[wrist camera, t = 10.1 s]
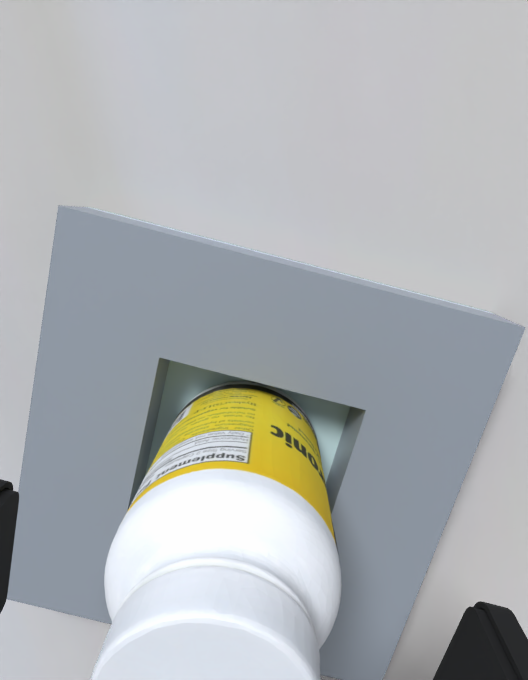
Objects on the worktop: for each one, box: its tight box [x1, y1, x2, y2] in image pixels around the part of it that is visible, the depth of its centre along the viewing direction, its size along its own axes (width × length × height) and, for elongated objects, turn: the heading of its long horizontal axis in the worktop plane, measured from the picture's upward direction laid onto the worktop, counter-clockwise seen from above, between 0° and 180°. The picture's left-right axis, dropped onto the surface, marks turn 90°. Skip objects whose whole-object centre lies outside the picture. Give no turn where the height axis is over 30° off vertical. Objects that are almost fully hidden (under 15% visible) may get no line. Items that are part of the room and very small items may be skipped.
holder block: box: [7, 205, 525, 680], centre depth 17 cm, size 14×14×2 cm
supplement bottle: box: [91, 381, 342, 680], centre depth 13 cm, size 5×5×10 cm
